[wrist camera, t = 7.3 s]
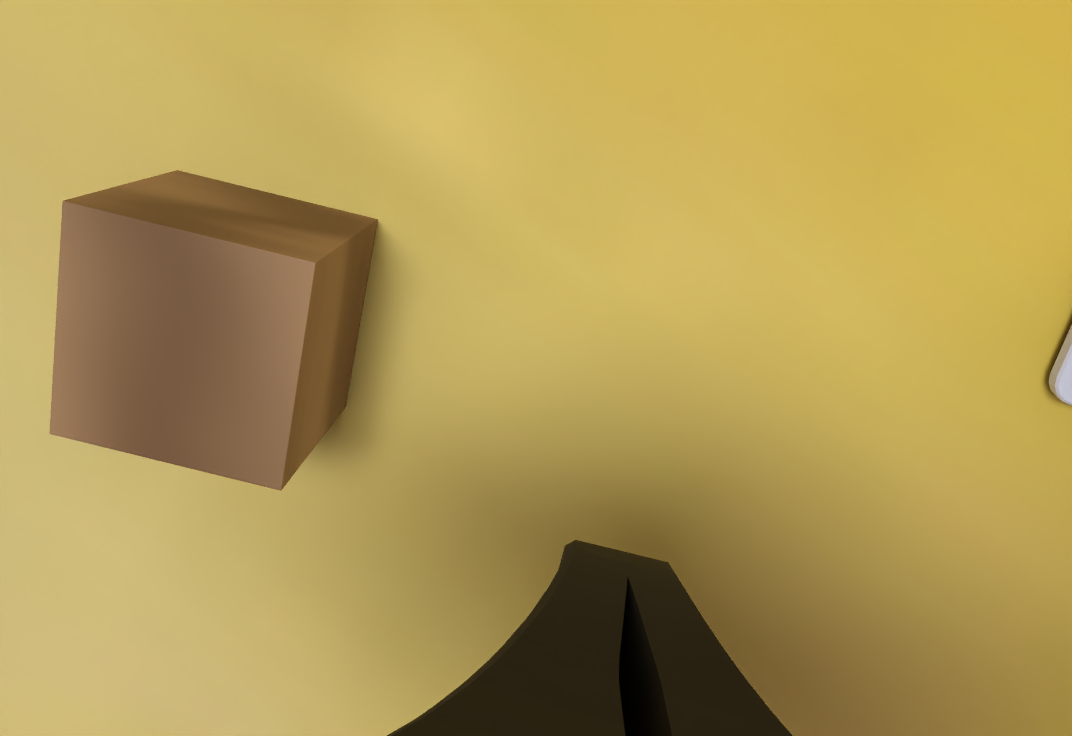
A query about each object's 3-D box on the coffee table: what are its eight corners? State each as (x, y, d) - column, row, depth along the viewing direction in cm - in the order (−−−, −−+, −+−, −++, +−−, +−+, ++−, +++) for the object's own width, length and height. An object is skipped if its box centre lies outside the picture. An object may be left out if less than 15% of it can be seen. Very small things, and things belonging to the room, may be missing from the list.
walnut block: (378, 219, 20) (315, 262, 16) (346, 405, 22) (280, 491, 18) (178, 170, 20) (62, 201, 16) (160, 359, 22) (49, 434, 18)
